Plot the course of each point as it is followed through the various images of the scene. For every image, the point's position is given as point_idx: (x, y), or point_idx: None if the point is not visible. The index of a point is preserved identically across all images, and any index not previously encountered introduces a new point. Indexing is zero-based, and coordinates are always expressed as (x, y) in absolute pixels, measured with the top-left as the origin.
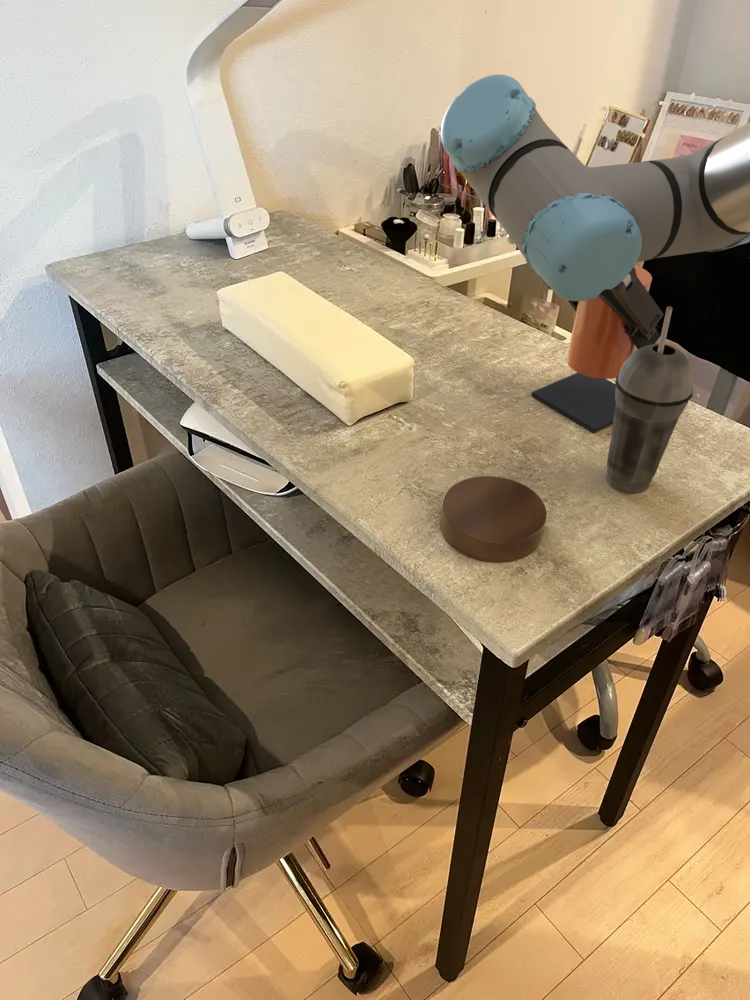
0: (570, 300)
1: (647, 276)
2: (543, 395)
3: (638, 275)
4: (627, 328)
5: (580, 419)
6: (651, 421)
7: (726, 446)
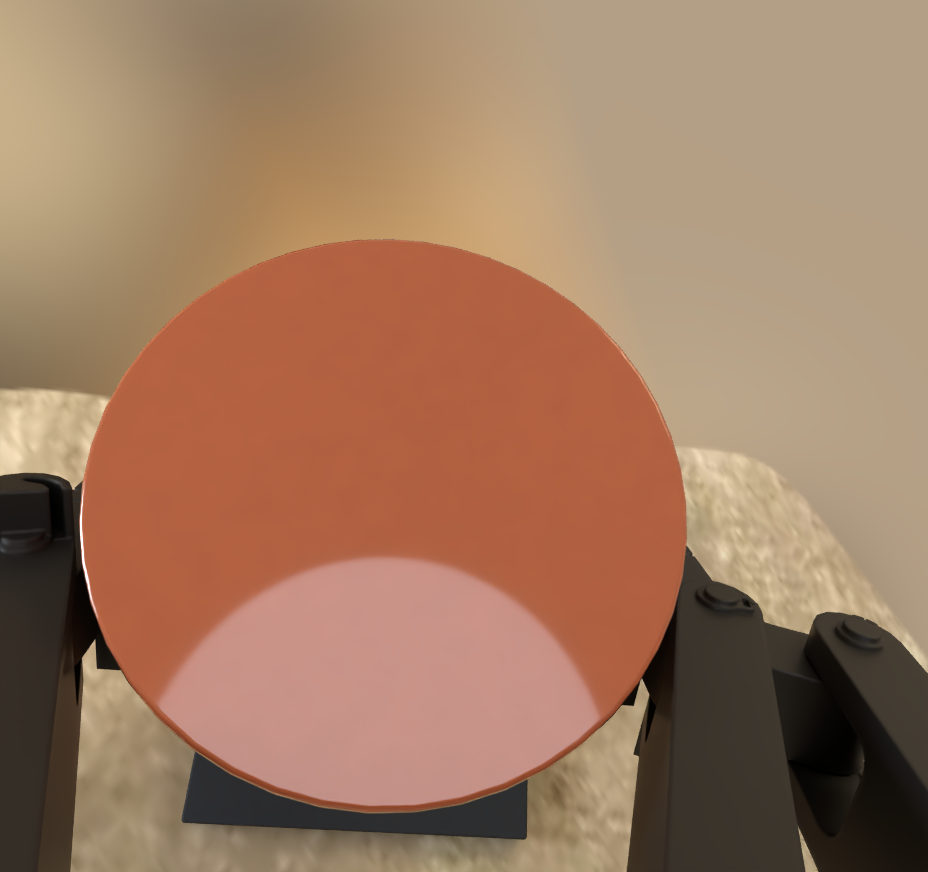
0: (110, 661)
1: (582, 345)
2: (235, 803)
3: (527, 376)
4: (641, 728)
5: (449, 829)
6: None
7: (795, 542)
